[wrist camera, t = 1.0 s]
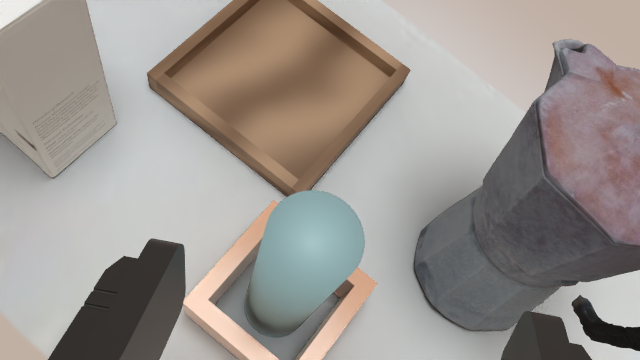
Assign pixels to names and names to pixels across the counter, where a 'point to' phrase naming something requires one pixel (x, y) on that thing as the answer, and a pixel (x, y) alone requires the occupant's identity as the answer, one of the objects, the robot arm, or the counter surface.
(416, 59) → the counter surface
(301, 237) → the dowel pin
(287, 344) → the counter surface
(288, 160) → the tray
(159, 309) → the robot arm
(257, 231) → the square terracotta collar
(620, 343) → the moka pot
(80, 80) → the skincare box
